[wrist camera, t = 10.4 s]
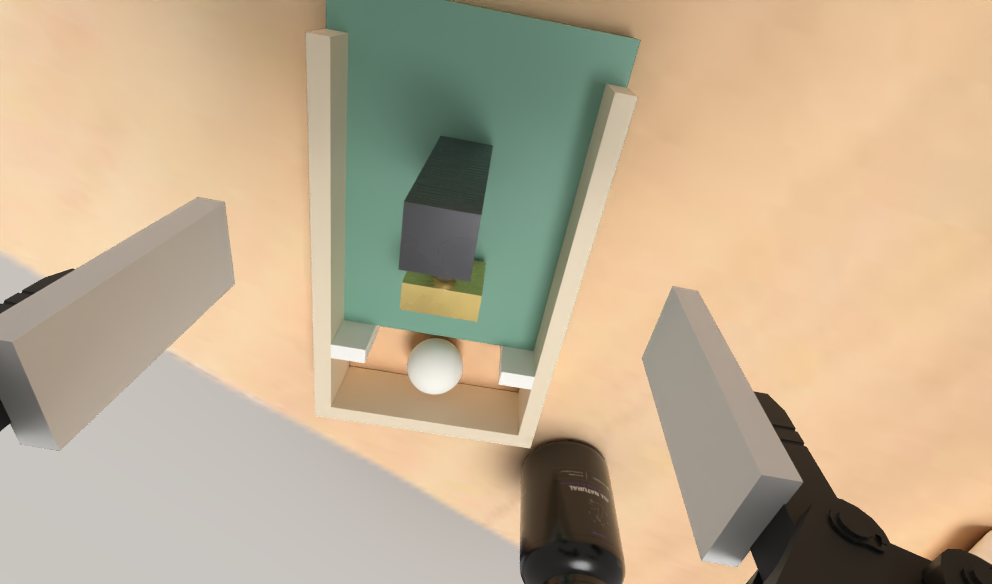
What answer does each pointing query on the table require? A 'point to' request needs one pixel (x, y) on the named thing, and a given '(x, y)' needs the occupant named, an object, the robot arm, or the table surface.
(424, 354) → the ball
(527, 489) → the supplement bottle
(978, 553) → the mug
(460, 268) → the uneven dumbbell
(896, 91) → the table surface
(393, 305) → the pitch
